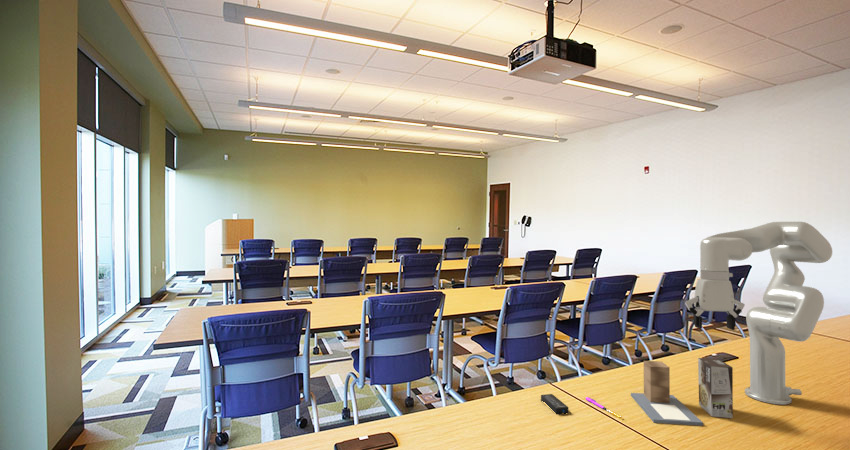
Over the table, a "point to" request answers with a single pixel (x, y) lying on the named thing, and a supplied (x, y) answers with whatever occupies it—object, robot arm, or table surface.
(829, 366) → the table surface
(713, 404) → the coffee box
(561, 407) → the multiport hub
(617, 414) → the magenta and yellow rod
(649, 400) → the board
